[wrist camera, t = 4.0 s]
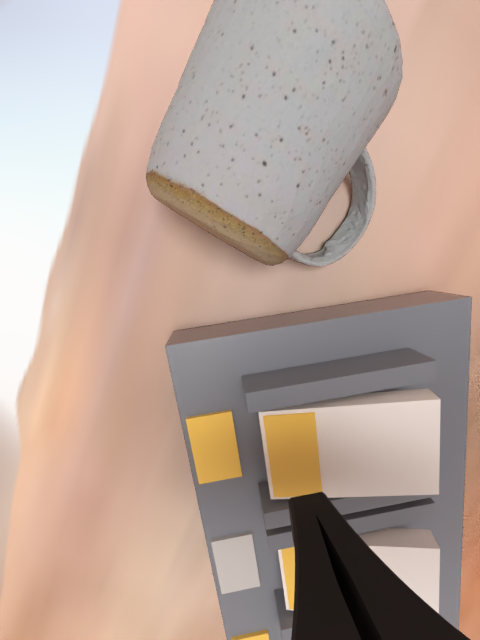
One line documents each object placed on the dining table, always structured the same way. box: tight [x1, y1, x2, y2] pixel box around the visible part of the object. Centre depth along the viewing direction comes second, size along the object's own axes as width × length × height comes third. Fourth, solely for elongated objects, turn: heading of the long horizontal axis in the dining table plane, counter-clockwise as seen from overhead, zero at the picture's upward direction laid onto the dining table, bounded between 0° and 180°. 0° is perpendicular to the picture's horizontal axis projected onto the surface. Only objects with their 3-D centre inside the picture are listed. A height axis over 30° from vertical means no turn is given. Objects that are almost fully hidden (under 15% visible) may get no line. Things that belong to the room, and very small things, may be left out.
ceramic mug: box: [146, 0, 403, 266], centre depth 12 cm, size 11×8×8 cm
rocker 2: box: [278, 528, 440, 614], centre depth 16 cm, size 8×5×1 cm, turn 98°
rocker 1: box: [258, 389, 441, 499], centre depth 14 cm, size 8×5×1 cm, turn 98°
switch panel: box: [165, 291, 472, 640], centre depth 18 cm, size 16×28×5 cm, turn 8°
